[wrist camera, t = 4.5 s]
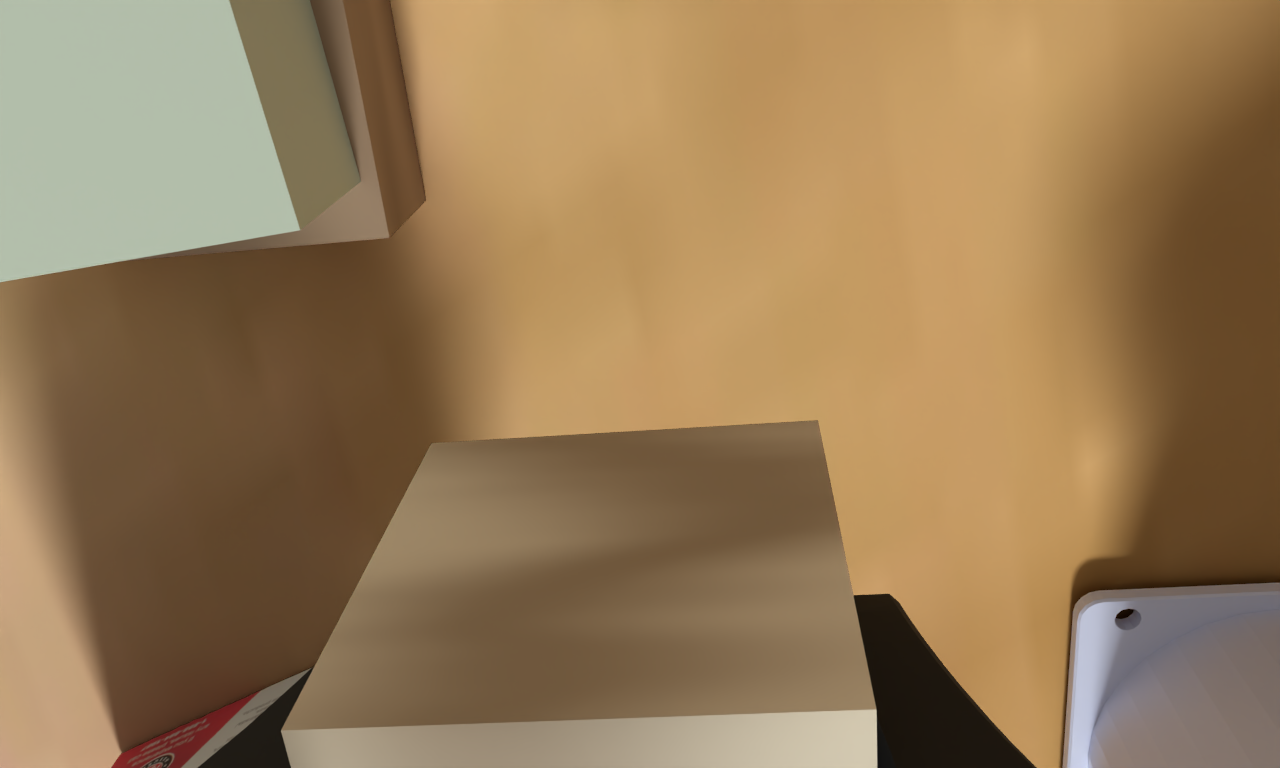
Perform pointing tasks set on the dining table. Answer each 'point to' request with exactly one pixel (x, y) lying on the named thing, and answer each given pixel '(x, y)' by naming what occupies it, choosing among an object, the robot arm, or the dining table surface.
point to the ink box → (203, 733)
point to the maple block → (601, 612)
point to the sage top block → (161, 128)
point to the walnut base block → (359, 132)
